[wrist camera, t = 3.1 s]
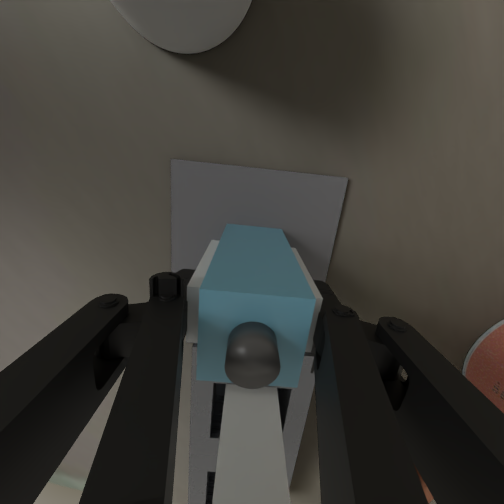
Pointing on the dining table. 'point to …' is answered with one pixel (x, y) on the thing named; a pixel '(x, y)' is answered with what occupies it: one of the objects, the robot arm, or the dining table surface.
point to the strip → (210, 417)
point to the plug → (253, 311)
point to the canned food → (488, 364)
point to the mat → (253, 209)
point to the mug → (184, 21)
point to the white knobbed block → (251, 449)
